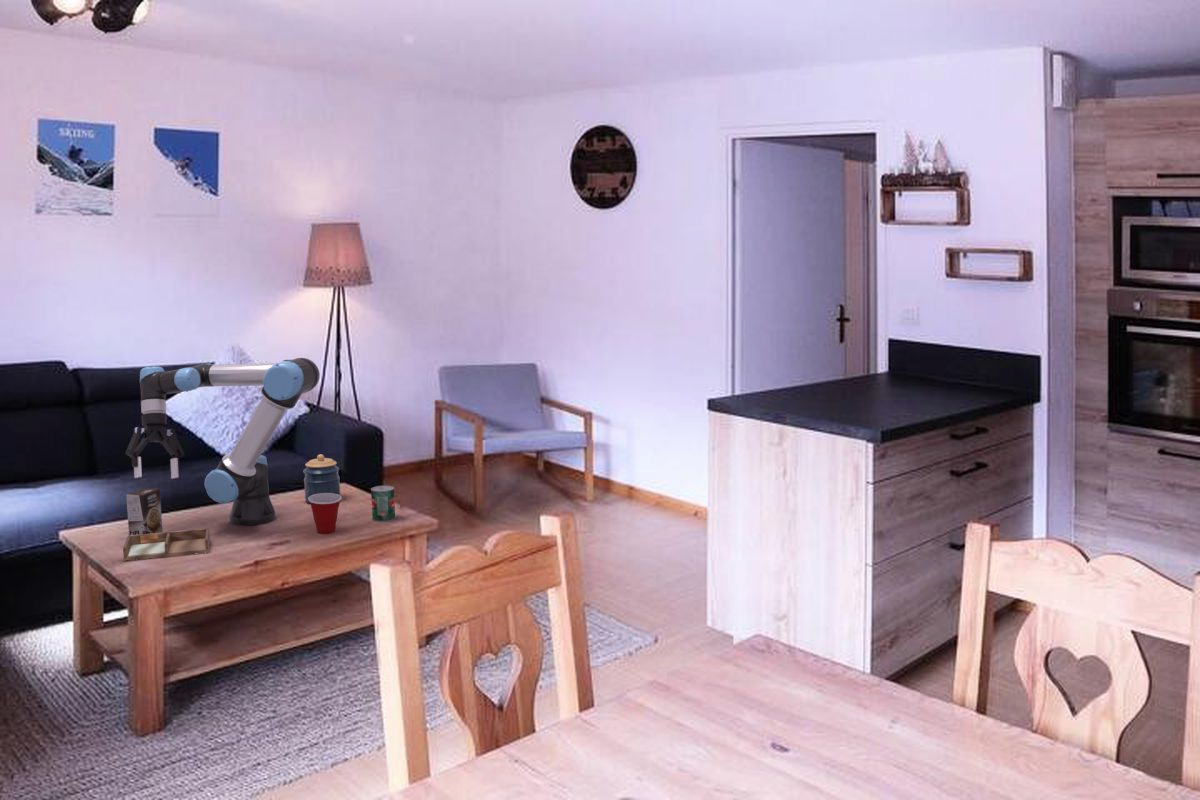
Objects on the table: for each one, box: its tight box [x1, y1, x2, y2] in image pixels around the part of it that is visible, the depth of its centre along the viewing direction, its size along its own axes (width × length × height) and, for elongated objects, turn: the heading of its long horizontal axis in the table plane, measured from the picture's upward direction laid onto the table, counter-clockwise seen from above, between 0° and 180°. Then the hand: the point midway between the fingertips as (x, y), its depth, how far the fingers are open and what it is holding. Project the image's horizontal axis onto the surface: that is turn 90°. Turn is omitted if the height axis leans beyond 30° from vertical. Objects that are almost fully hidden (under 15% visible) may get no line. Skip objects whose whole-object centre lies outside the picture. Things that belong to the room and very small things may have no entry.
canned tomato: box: [370, 485, 396, 523], centre depth 352 cm, size 8×8×11 cm
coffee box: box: [125, 488, 164, 536], centre depth 330 cm, size 9×6×16 cm
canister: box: [302, 453, 342, 505], centre depth 378 cm, size 13×13×18 cm
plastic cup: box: [308, 493, 343, 535], centre depth 337 cm, size 11×11×12 cm
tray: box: [122, 527, 211, 562], centre depth 318 cm, size 24×14×4 cm, turn 109°
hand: (156, 477), depth 332 cm, fingers open, 13 cm apart
